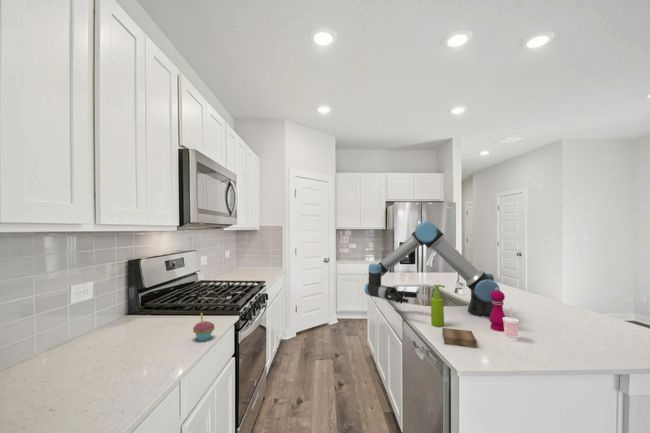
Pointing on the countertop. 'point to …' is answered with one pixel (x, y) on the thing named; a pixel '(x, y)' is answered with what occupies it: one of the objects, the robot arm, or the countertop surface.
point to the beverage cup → (511, 328)
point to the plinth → (458, 337)
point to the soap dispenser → (437, 308)
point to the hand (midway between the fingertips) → (421, 299)
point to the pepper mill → (497, 310)
